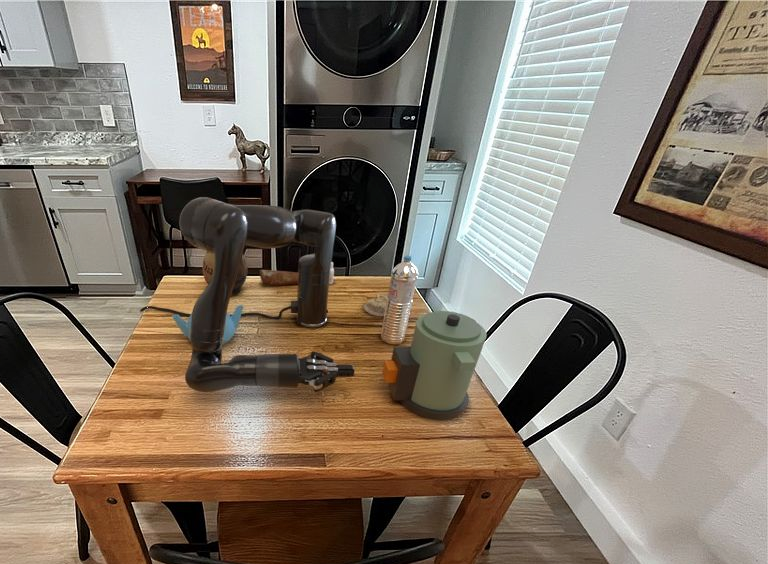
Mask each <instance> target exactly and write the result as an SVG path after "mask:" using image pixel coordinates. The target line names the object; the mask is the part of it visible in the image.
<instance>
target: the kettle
mask: <svg viewBox="0 0 768 564" xmlns="http://www.w3.org/2000/svg"><path fill="white" fill-rule="evenodd" d="M487 336H488V335H487V331H486V329H485V327H483V326H482V325H481V324H480V323H479V322H478V321H477V320H475V319H474V318H472V317H470V316H468V315H466V314H463V313H460V312H456V311H450V310H435V311H430V312H427V313H425V314H422V315H421V316H419V317H418V318H417V319H416V322H415V327H414V331H413V335H412V340H411V343H410V346H393V349H392V355H391V359H390V361H395V363H396V365H397V368H398V374H397V378H396V383H387V385H388V388H389V391H390V392H391V396H392V398H393V401H399V403H400V404H401V405H402V406H403V407H404V408H405V409H407V410H408V411H410V412H411V413H413V414H414V415H417V416H419V417H422V418H424V419H429V420H433V421H435V420H436V421H450V420H453V419H456V418H459V417H460V416H462V415H463V414H464V412H465V411H466V409H467V406H468V404H469V394H468V389H469V386H470V383H471V380H472V378H473V376H474V373H475V370H476V367H477V364H478V361H479V359H480V356H481V353H482V350H483V348H484V345H485V342H486V339H487Z"/></svg>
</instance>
